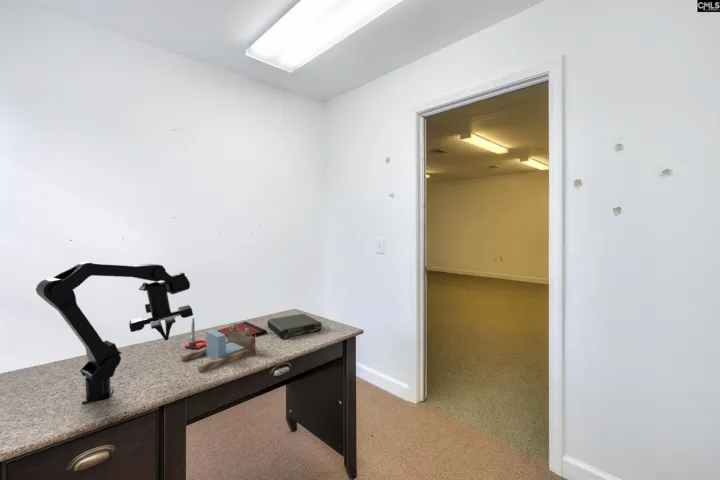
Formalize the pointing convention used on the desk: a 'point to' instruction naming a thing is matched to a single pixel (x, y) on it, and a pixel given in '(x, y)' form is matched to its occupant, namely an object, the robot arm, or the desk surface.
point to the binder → (241, 327)
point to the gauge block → (219, 345)
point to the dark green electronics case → (293, 325)
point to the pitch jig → (232, 336)
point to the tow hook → (193, 343)
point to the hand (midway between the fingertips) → (166, 339)
